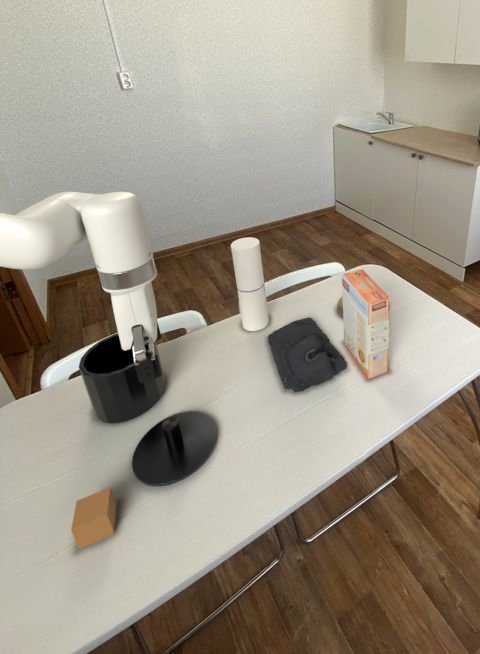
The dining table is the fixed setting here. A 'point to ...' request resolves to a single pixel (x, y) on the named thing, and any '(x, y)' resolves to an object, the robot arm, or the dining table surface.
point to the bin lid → (174, 448)
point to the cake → (340, 307)
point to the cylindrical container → (250, 283)
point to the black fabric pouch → (304, 355)
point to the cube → (94, 518)
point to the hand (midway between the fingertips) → (151, 358)
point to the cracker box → (366, 322)
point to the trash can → (118, 382)
